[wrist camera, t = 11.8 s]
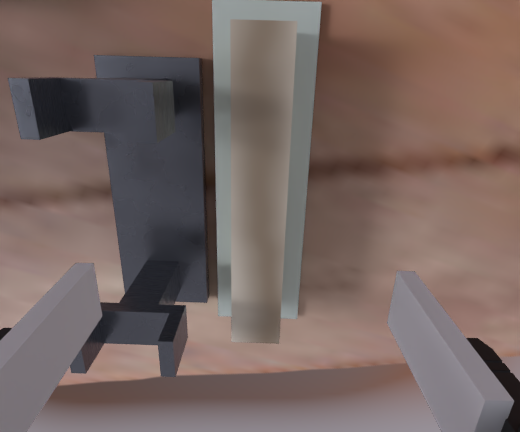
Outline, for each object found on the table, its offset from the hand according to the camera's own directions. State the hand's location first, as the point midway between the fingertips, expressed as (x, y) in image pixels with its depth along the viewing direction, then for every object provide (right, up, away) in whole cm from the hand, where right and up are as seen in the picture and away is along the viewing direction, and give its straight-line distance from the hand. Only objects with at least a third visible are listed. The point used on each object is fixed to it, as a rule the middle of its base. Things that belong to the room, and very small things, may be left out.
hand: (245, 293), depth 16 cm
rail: (+1, +6, +16) cm, 17 cm away
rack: (-8, +6, +17) cm, 19 cm away
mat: (+1, +6, +16) cm, 17 cm away
